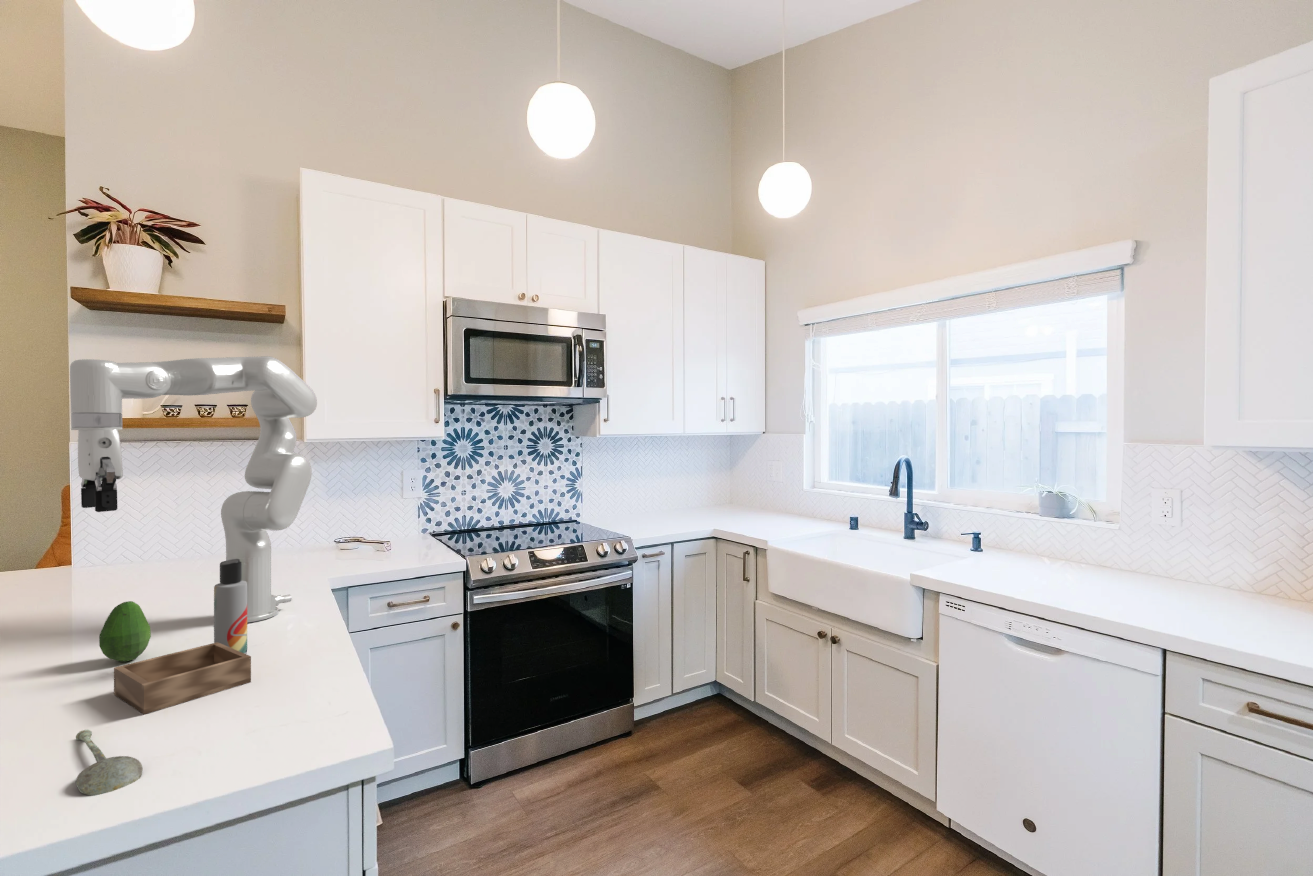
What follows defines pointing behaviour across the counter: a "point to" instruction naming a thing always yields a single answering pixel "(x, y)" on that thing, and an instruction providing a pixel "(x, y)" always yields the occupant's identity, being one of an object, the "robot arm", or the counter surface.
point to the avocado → (125, 632)
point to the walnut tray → (181, 676)
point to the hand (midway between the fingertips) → (99, 509)
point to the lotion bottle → (231, 607)
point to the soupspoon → (106, 770)
